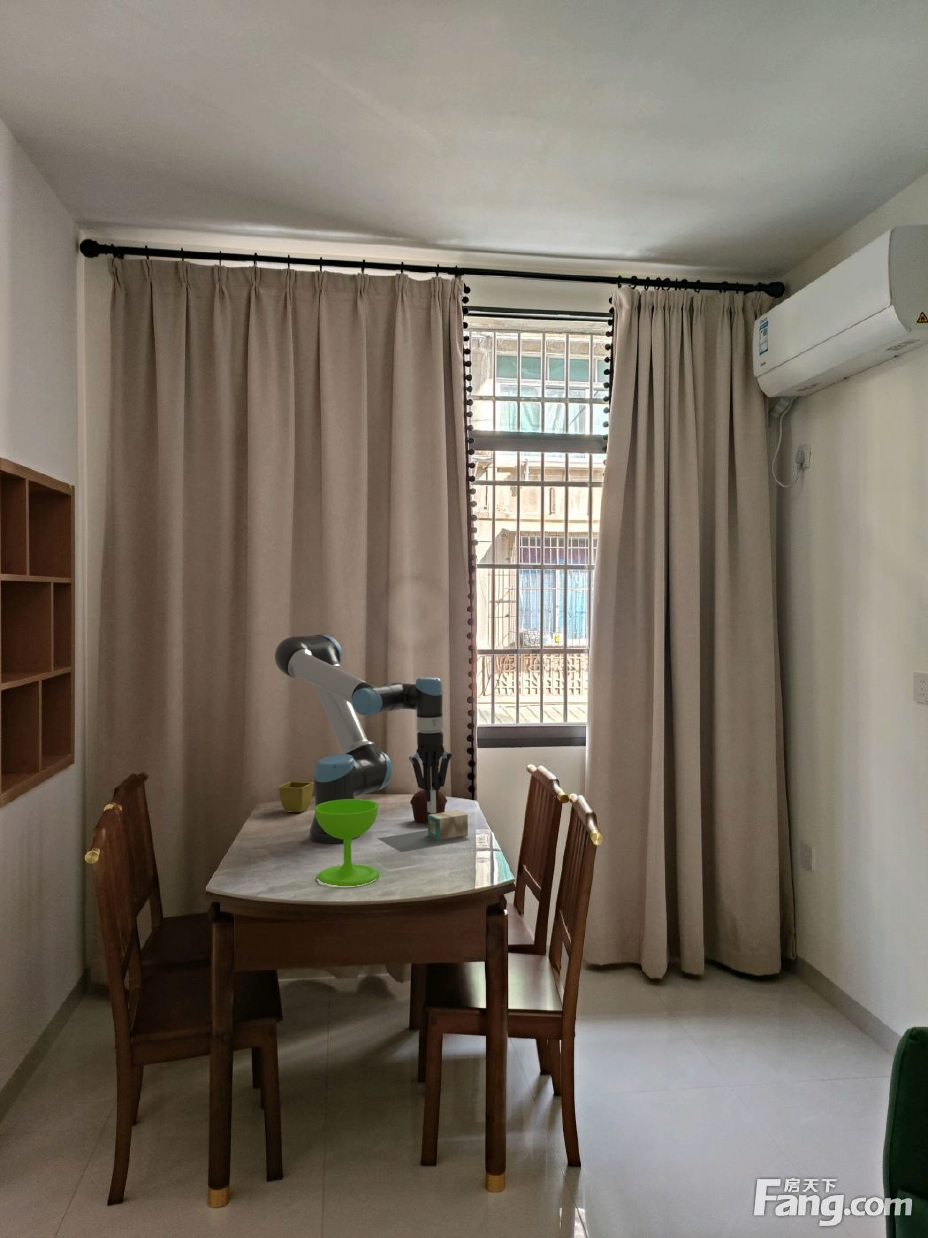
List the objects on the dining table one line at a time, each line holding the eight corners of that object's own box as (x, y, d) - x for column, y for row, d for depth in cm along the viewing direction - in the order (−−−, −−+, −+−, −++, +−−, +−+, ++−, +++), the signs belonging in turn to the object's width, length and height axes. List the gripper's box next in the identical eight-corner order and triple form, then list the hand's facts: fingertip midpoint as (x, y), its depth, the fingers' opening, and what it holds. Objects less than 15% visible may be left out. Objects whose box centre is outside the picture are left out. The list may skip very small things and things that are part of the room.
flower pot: (278, 814, 283) (277, 786, 283) (291, 807, 291) (290, 781, 291) (302, 815, 280) (301, 788, 280) (314, 809, 289) (314, 782, 289)
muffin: (405, 825, 266) (405, 793, 266) (416, 816, 277) (415, 785, 276) (442, 827, 263) (442, 795, 263) (451, 818, 274) (451, 787, 274)
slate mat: (401, 853, 236) (401, 852, 236) (377, 840, 250) (377, 838, 250) (470, 841, 247) (470, 839, 247) (444, 829, 261) (444, 827, 261)
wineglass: (303, 878, 217) (301, 807, 217) (354, 863, 228) (352, 796, 228) (341, 893, 206) (339, 818, 205) (392, 877, 217) (391, 806, 216)
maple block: (437, 819, 247) (467, 814, 252) (427, 814, 253) (457, 810, 258) (437, 840, 248) (467, 834, 253) (428, 835, 253) (457, 830, 258)
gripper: (415, 734, 243) (417, 818, 243) (456, 730, 249) (457, 811, 250) (404, 731, 249) (405, 812, 250) (444, 727, 256) (445, 806, 256)
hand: (431, 812), depth 250 cm, fingers closed
